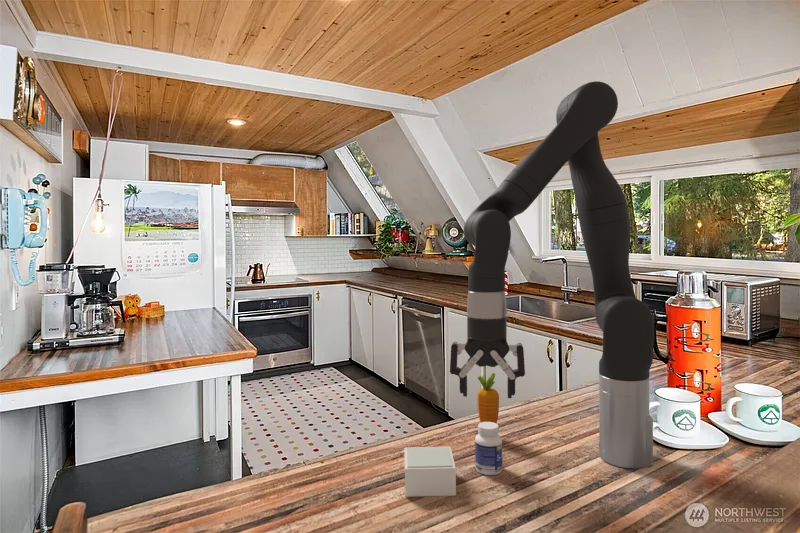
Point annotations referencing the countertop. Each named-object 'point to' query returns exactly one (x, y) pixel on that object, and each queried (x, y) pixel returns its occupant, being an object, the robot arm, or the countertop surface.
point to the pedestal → (429, 471)
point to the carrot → (488, 400)
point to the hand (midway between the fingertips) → (487, 396)
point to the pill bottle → (488, 449)
